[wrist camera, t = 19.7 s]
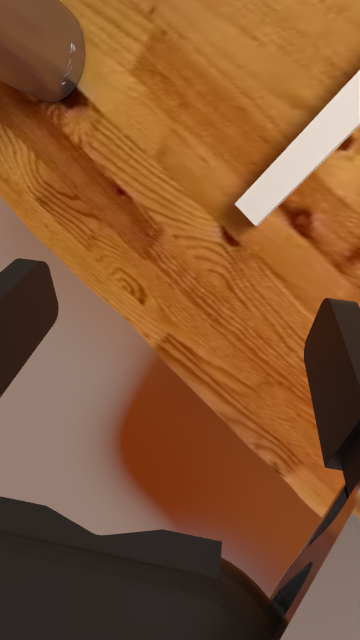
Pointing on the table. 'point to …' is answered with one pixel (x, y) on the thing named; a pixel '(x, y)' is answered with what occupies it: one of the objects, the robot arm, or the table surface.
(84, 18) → the table surface
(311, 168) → the off-white bar
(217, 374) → the table surface
